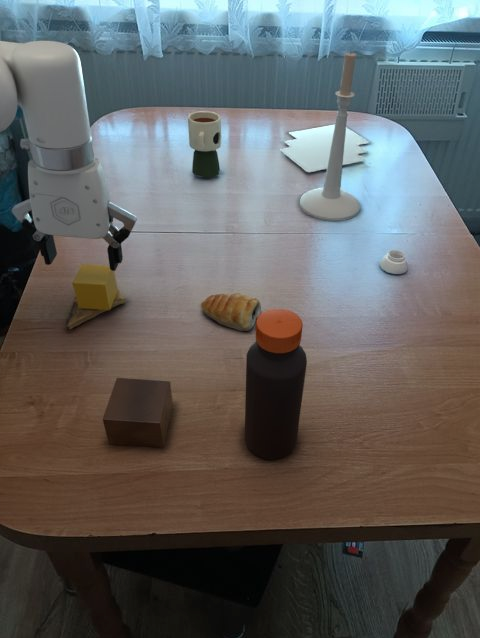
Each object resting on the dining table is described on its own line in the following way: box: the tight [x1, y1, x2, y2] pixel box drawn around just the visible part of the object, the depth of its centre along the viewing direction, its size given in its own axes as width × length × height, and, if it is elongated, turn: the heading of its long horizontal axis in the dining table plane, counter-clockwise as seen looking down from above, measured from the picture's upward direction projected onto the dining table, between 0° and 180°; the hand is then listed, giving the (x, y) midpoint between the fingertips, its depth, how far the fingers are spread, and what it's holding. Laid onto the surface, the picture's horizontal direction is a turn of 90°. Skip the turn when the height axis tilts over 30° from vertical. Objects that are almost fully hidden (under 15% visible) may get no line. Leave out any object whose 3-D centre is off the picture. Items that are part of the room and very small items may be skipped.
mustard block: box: [71, 263, 119, 311], centre depth 85 cm, size 5×5×5 cm
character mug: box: [187, 110, 222, 179], centre depth 120 cm, size 11×7×13 cm, turn 175°
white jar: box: [379, 249, 409, 275], centre depth 99 cm, size 5×3×5 cm
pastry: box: [200, 292, 262, 332], centre depth 87 cm, size 9×7×4 cm
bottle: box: [244, 307, 308, 460], centre depth 63 cm, size 7×7×20 cm
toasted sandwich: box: [65, 289, 126, 330], centre depth 87 cm, size 11×8×2 cm
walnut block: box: [102, 377, 174, 449], centre depth 69 cm, size 7×7×5 cm
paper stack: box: [278, 124, 371, 173], centre depth 137 cm, size 23×25×1 cm
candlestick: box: [299, 52, 361, 222], centre depth 105 cm, size 13×13×30 cm
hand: (83, 262), depth 81 cm, fingers open, 9 cm apart
